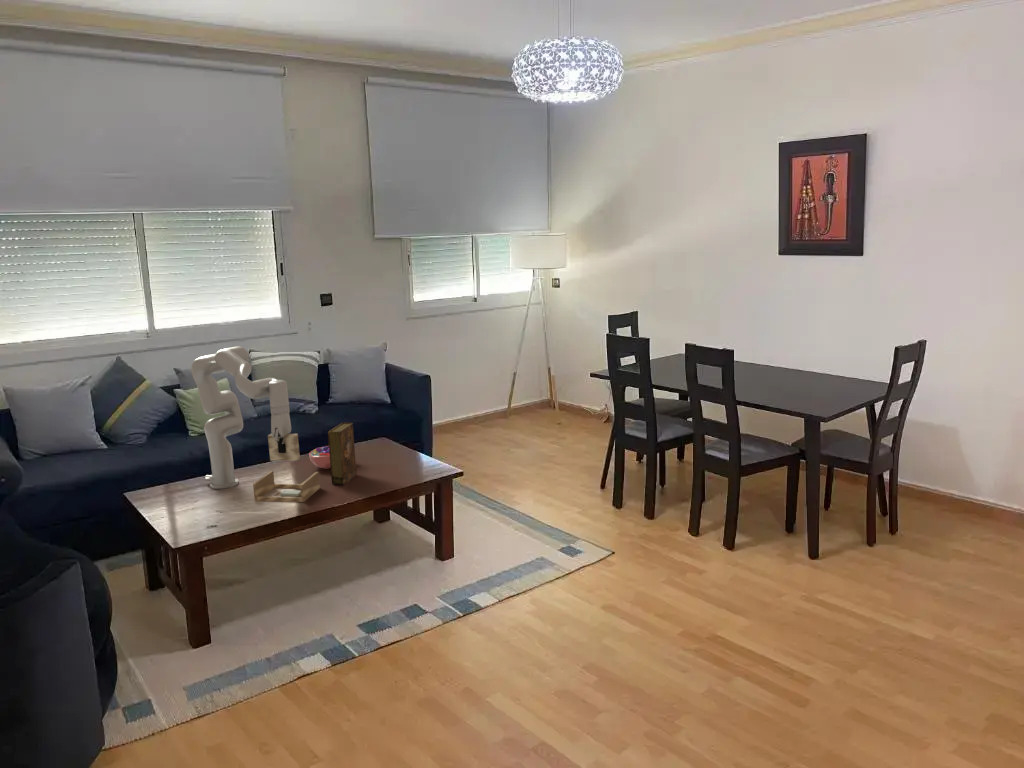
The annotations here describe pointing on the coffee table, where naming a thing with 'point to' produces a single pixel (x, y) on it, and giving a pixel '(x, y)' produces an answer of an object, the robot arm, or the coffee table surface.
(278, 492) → the offcut slab bottom
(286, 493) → the offcut slab top
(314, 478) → the pine rack
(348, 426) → the book
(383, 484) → the coffee table surface
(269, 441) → the birch sheet
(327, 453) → the cell model
